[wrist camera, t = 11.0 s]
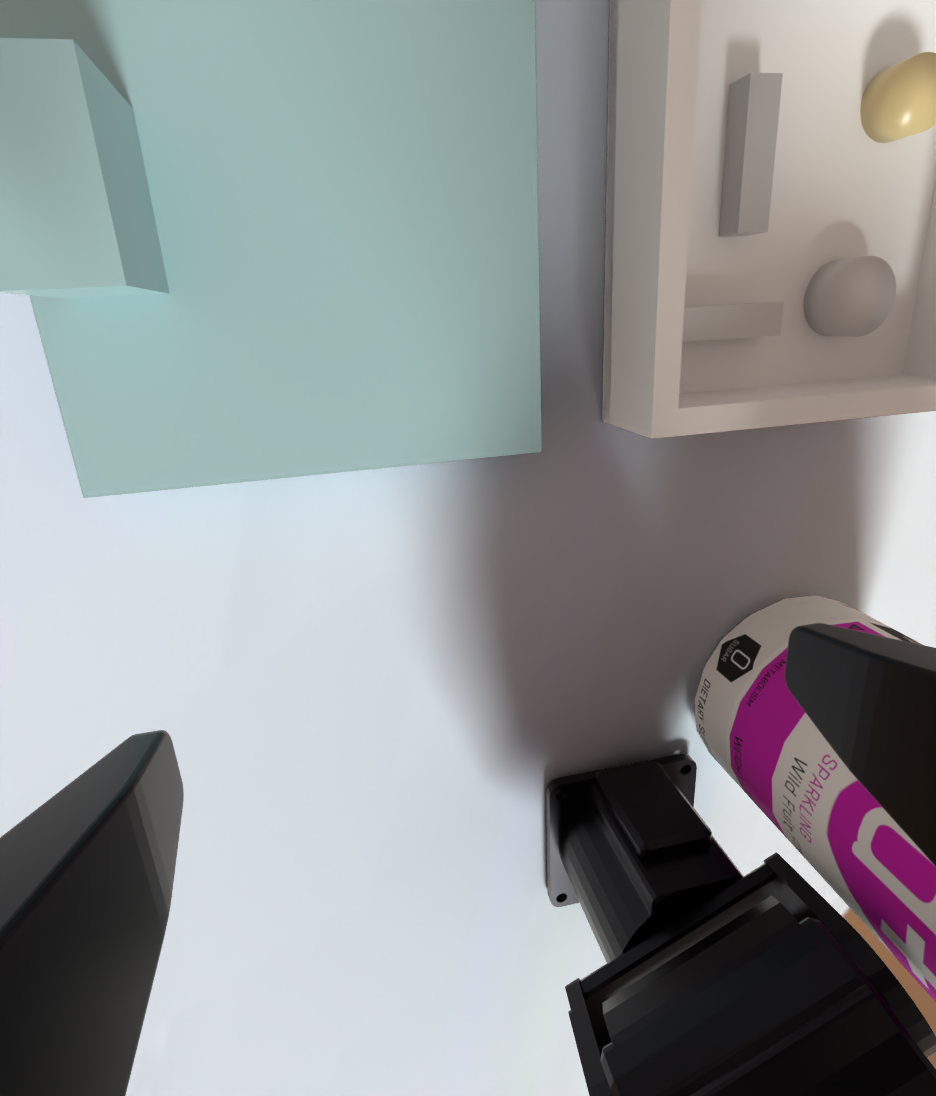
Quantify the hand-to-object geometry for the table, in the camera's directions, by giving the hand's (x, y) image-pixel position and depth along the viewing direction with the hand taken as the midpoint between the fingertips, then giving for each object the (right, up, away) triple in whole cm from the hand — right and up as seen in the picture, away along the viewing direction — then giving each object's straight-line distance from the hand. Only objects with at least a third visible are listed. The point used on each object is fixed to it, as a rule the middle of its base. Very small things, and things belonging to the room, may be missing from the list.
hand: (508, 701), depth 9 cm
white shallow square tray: (+10, +13, +12) cm, 20 cm away
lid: (-5, +11, +8) cm, 15 cm away
